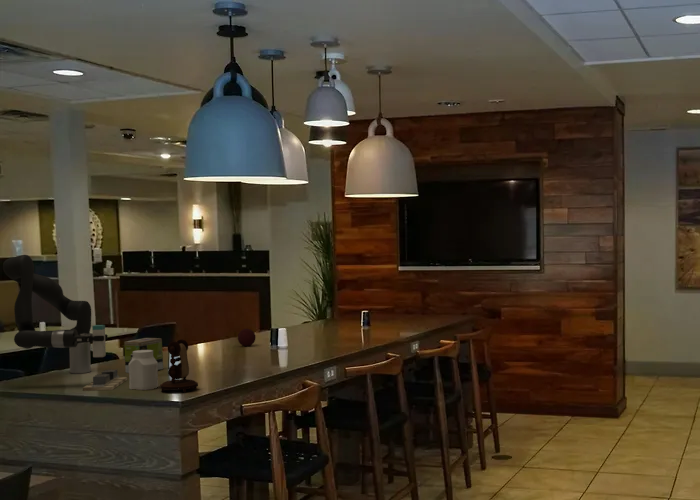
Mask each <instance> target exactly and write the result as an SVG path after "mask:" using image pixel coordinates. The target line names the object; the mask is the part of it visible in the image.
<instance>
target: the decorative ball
mask: <svg viewBox="0 0 700 500" xmlns="http://www.w3.org/2000/svg"><path fill="white" fill-rule="evenodd" d="M256 337H257V336H256V333H255V332H254V331H253V330H252V329H251V328H243V329H241V330H240V331H239V332H238V334H237V341H238V343H239V344H240V345H241V346H243V347H250V346H252V345H253V344H254V343H255V341H256Z"/></svg>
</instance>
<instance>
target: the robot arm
mask: <svg viewBox="0 0 700 500" xmlns="http://www.w3.org/2000/svg"><path fill="white" fill-rule="evenodd" d="M34 265H35V264H34V260H33V259H32V257H31V256H30V255H28V254H21V255H20V254H19V255H18V256H17V255H16V256H13V257H9V258H7V259H5V260H4V262H3V263H2V269H3V270H2V271H3V272H4V274H5V275H6V276H7V277H8V278H9V279H11V280H12V281H14V282H16V283H18V284H20V289H19V291H18V295H17V297H16V300H15V303H14V306H13V307H14V308H13V311H14V323H15V325H16V326H17V328H18V332H16V333H15V335H14V338H13V341H14V343H15V345H16V346H17V347H20V348H23V349H32V348H33V347H34V348H35V347H40V348H58V349H59V348H60V349H62V348H63V349H64V348H69V373H70V374H87V373H91V371H92V367H91V362H92V361H91V343H93V342H95V341H104V336H94V335H93V332H92V333H91V328H92V307H91V305H90V303H89V302H88V301H86V300H73V299H70V298H68V297H67V296H65V295H64V291H63V288H62V286H61V285H60V284H59V283H58V282H57V281H55V280H53V279H52V278H50V277H48V276H44V275H40V274H37V273H35V266H34ZM33 293H34V294H35V295H37V296H38V298H41V300H43V301H45V302H46V303H48V304H50V305H51V306H52V307H54V308H55V309H57V310H58V312H60V313H61V315H62V316H64V317H65V318H67V320H69V321H74V322H75V321H76V325H75V326H74V327H72V328H70V329H56V330H36V328H35V324H34V320H33V319H34V318H33V305H32V303H33V302H32V299H33ZM108 338H109V336H108V334H106V333H105V341H107V340H108Z"/></svg>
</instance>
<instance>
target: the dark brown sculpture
mask: <svg viewBox="0 0 700 500" xmlns="http://www.w3.org/2000/svg"><path fill="white" fill-rule="evenodd" d="M188 350H189V343H188V341H186V340H185V339H183V338H181V339H178V340H177V341H174V340H173V341H170V343H168V345H167V352H168V353H169V355H170V360H169V363H170V366H169V368H168V375H169V377H170V378H171V380H166V381H164V382H162V383H161V384H160V386H159V387H160V389H161V392H162V393H164V392H165V391H167V390H168V391H178V390H179V391H180V390H181V391H183V393H184V392H185V393H186V392H187V390H190V389H195V388H196V389H197V387H198V386H199V382H197V381H195V380H193V379H187V377H188V376H189V374H190V367H189V365H190V364H189V360H188ZM177 362H179V363H178V364H176V363H177Z"/></svg>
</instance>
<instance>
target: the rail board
mask: <svg viewBox="0 0 700 500" xmlns="http://www.w3.org/2000/svg"><path fill="white" fill-rule="evenodd" d="M126 381H128V376H119V378H117V379H116V380H114V381H113V382H111V383H109V384H108V385H106V386H105V387H92V385H93V381H92V382H90V383H89V384H87V385H85V386H83V387H82V391H85V392H87V391H88V392H89V391H113V390H114V389H116V388H118V387H119V386H121V385H122V384H123V383H124V382H126Z"/></svg>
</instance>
